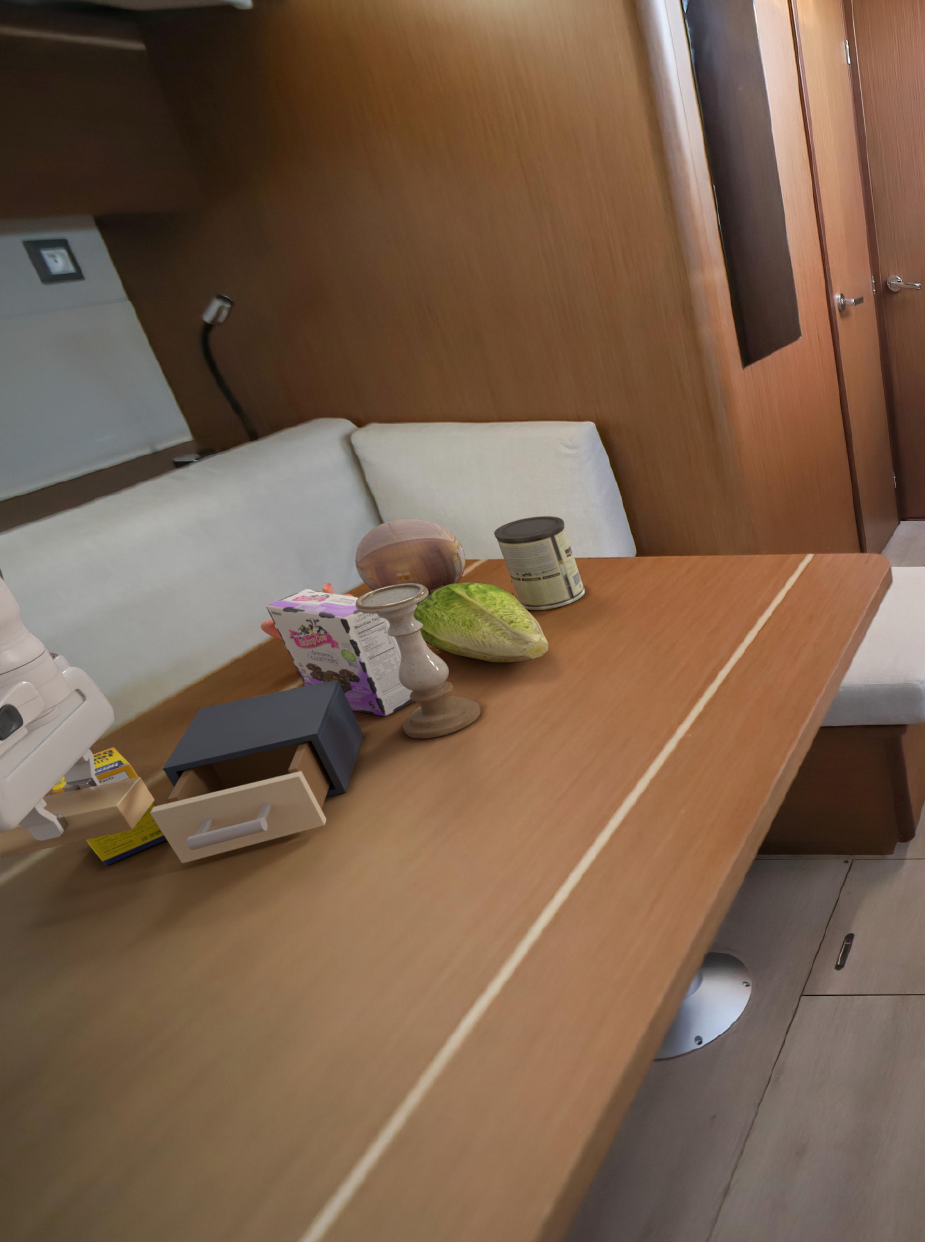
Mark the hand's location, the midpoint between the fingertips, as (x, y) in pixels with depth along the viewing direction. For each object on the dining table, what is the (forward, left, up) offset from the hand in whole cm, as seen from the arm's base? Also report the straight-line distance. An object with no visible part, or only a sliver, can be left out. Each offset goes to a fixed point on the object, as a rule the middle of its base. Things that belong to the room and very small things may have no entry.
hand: (71, 814), depth 86 cm
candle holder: (+23, +30, -15) cm, 41 cm away
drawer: (+7, +14, -14) cm, 21 cm away
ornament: (+17, +80, -15) cm, 83 cm away
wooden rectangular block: (0, 0, -2) cm, 2 cm away
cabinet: (+7, +25, -15) cm, 30 cm away
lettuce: (+29, +50, -15) cm, 60 cm away
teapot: (+8, +61, -15) cm, 64 cm away
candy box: (+13, +43, -15) cm, 47 cm away
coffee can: (+36, +69, -15) cm, 79 cm away
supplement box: (-6, +18, -15) cm, 25 cm away
